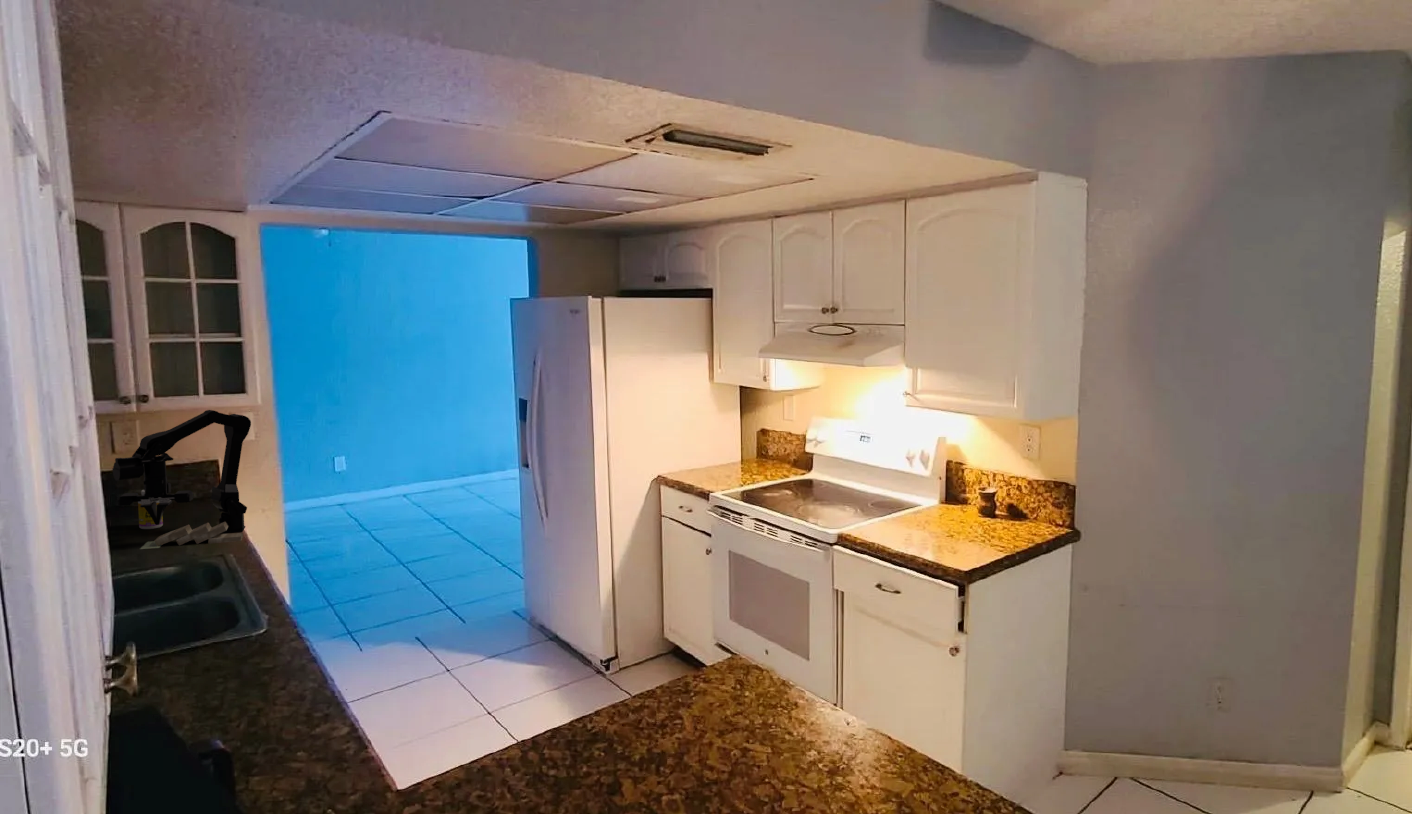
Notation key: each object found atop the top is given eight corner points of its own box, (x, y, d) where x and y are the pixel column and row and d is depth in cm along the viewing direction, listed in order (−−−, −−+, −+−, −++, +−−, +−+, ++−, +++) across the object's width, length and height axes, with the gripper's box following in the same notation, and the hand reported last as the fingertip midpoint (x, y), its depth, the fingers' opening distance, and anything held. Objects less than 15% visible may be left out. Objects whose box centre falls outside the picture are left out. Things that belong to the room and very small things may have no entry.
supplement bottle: (143, 530, 262) (141, 493, 260) (136, 527, 266) (134, 490, 264) (166, 527, 267) (164, 490, 266) (159, 523, 271) (157, 487, 270)
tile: (161, 541, 250) (191, 529, 252) (157, 546, 245) (188, 534, 248) (158, 536, 249) (188, 524, 252) (154, 540, 244) (185, 528, 247)
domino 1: (182, 541, 251) (211, 527, 254) (179, 545, 247) (209, 531, 250) (179, 535, 251) (208, 522, 254) (175, 540, 246) (205, 526, 249)
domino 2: (199, 540, 253) (228, 526, 257) (196, 544, 249) (226, 530, 252) (196, 534, 253) (225, 521, 256) (193, 538, 248) (223, 525, 252)
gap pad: (165, 541, 251) (165, 540, 251) (159, 547, 244) (159, 547, 244) (147, 542, 249) (147, 541, 249) (139, 549, 242) (139, 548, 242)
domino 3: (211, 540, 255) (242, 538, 258) (208, 545, 250) (241, 542, 254) (210, 534, 254) (242, 532, 258) (208, 539, 250) (240, 536, 254)
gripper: (195, 469, 256) (197, 516, 257) (127, 472, 249) (129, 520, 250) (188, 476, 245) (190, 524, 247) (116, 479, 238) (118, 529, 240)
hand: (157, 524), depth 246 cm, fingers closed
